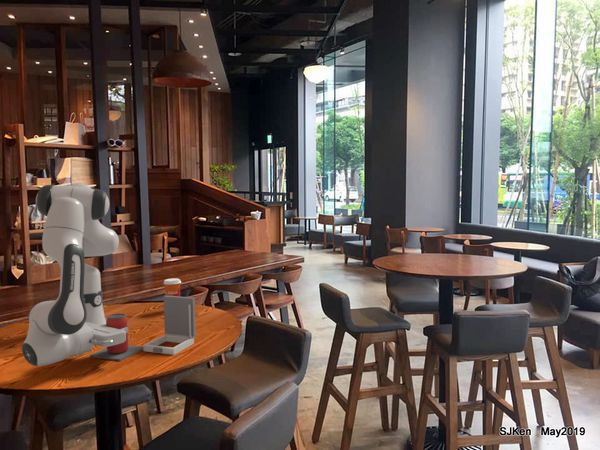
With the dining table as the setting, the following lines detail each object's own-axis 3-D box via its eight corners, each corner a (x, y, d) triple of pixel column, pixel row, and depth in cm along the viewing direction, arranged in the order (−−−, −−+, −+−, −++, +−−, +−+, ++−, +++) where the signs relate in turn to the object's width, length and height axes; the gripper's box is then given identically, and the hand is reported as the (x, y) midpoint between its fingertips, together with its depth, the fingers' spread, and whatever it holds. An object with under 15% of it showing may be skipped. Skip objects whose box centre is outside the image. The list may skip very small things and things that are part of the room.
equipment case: (141, 351, 156) (140, 304, 155) (167, 339, 170) (165, 295, 168) (172, 355, 152) (170, 307, 151) (195, 342, 166) (194, 297, 164)
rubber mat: (90, 357, 152) (90, 355, 152) (116, 345, 163) (116, 343, 163) (120, 361, 148) (120, 359, 148) (144, 348, 159) (144, 347, 159)
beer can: (122, 355, 152) (120, 318, 151) (103, 354, 153) (101, 318, 152) (132, 348, 158) (130, 313, 157) (113, 347, 159) (112, 312, 158)
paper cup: (161, 312, 207) (160, 281, 206) (168, 308, 215) (167, 277, 214) (177, 313, 206) (176, 281, 205) (185, 308, 214) (184, 278, 213)
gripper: (101, 334, 138) (139, 322, 150) (61, 324, 149) (100, 314, 161) (102, 355, 139) (140, 341, 151) (62, 343, 150) (101, 332, 162)
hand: (119, 327), depth 156 cm, fingers closed on beer can, 6 cm apart
